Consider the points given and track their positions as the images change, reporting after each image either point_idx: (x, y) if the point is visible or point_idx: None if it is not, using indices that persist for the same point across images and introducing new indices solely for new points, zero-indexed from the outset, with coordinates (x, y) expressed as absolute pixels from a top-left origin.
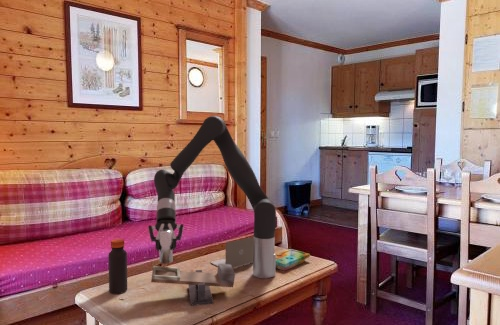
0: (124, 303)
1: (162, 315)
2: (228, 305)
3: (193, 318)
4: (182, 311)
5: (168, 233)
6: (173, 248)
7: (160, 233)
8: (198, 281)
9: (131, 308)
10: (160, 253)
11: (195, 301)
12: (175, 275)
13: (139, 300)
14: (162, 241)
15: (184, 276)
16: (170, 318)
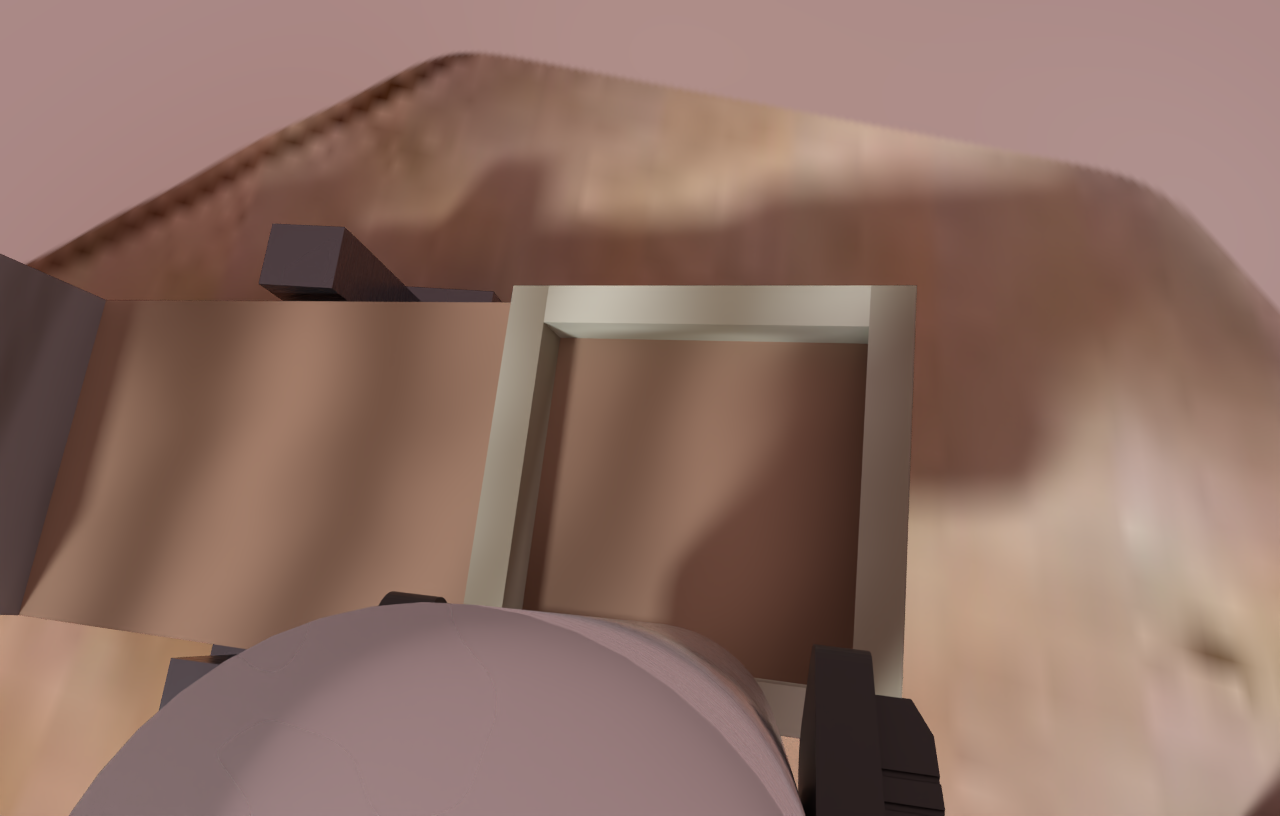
0: (1165, 526)
1: (770, 186)
2: (202, 235)
3: (528, 89)
4: (592, 218)
5: (346, 625)
6: (422, 597)
7: (788, 808)
8: (316, 316)
9: (1071, 387)
10: (769, 712)
11: (447, 301)
12: (558, 479)
13: (999, 557)
14: (703, 665)
15: (443, 458)
16: (707, 124)
